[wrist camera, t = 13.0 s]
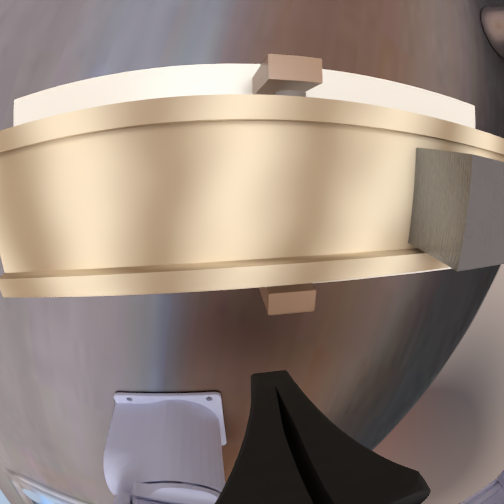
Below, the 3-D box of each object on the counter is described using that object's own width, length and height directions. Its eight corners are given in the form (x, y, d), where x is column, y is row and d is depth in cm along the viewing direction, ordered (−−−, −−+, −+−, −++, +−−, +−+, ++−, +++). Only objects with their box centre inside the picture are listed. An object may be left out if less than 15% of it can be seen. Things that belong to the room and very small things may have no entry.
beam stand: (44, 289, 19) (6, 331, 13) (21, 100, 14) (-31, 94, 9) (453, 263, 23) (497, 291, 18) (466, 106, 18) (519, 106, 13)
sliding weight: (407, 242, 15) (457, 271, 11) (416, 147, 13) (472, 154, 9) (466, 239, 15) (512, 262, 12) (475, 158, 14) (526, 168, 10)
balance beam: (27, 284, 14) (5, 305, 12) (5, 128, 11) (-24, 128, 9) (474, 253, 18) (499, 266, 16) (487, 132, 15) (515, 135, 13)
